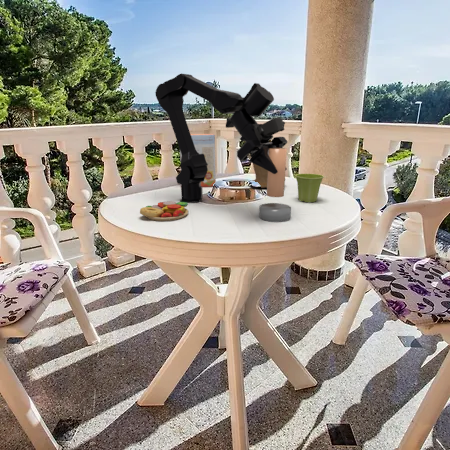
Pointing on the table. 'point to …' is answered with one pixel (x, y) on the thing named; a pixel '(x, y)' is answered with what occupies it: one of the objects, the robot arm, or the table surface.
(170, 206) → the toy food set
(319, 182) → the plant pot
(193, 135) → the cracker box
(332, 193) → the table surface
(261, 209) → the coaster
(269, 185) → the candle
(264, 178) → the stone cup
